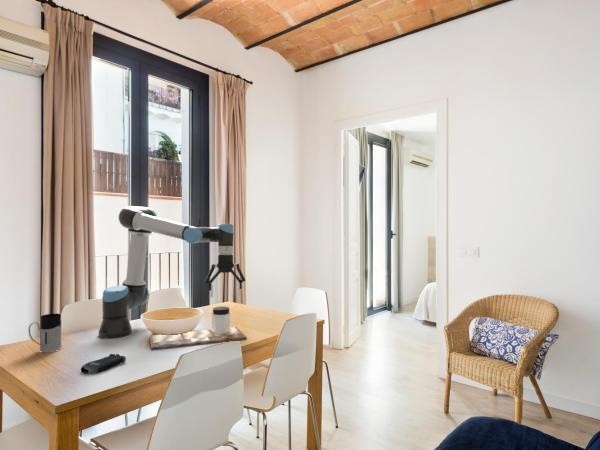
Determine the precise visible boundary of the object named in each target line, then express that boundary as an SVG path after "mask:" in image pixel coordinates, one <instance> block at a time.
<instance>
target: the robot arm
mask: <svg viewBox="0 0 600 450" xmlns="http://www.w3.org/2000/svg"><path fill="white" fill-rule="evenodd" d="M118 221H119V224H120V225H121V226H122V227H123V228H125V229H128V233H129V234H130V242H129V250H128V260H127V268H126V277H125V279H124V280H123V281H122V285H115V286H109V287H107V288H105V289H104V290H103V291H102V321H101V324H100V327H99V329H98V337H99V338H101V337H102V338H101V339H117V338H123V337H127V336H129V335H131V334H132V333H133V327H132V325H131V321H130V319H129V310H132V309H134V308H140V307H141V306H143V305H144V304H146V302H147V301H148V299H149V297H150V291H149V289H148V286H147V282H146V281H145V280H144V279H145V278H144V277H145V271H146V270H145V267H146V259H147V251H148V243H149V242H148V241H149V236H150V235H151V234H152V233H155V234H159V235H163V236H167V237H170V238H174V239H177V240H178V239H180V240H182V241H185V242H187V243H189V244H194V245H195V244H198V243H217V244H218V245H217V253H218V255H217V264H216V263H215V264H214V263H211V265H210V269H209V271H208V273H207V276H206V277H205V278H204V283H205V284H207V285H208V286H207V289H208V291H209V297H210V298H213V293H214V291H213V290H214V284H213V282H214V281H215V280H216V279H217V277H218V276H219V275H220V274H224V273H225V274H226V273H227V274H228V273H229V274H230V273H231V275H232V276H233V277H234V278H235V279H236V281H237V282H236V296H238V297H240V292H241V291H240V290H242V289H243V287H242V284H243V282H246V279H245V276H244V275H243V272H242V269H241V267H240V263H238V262H236V263H234V255H233V254H234V224H233V223H219V224H218V227H211V226H210V227H209V226H208V227H207V226H199V227H197V226H193V225H189V224H184V223H181V222H177V221H172V220H170V219H169V220H168V219H165V218H161V217H158V216H157V213H156V212H155V210H154V209H152V208H151V207H146V206H134V205H129V206H125V207H124V208H122V209H121V210H120V212H119V214H118ZM216 268H217V269H218V270H216V272H215V271H214V270H215V269H216ZM233 268H235V269H236V270H237V273H238V274H237V273H236V272H235V271H234V269H233ZM214 272H215V273H214ZM213 273H214V274H213ZM212 274H213V276H212ZM238 275H239V276H238ZM211 276H212V277H211Z"/></svg>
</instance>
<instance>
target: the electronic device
mask: <svg viewBox="0 0 600 450" xmlns="http://www.w3.org/2000/svg"><path fill="white" fill-rule="evenodd" d="M126 360H127V357H126V356H125V355H120V354H118V353H110V354H109V355H107V356H106V357H105V356H104V357H102V358H99V359H95V360H92V361H89V362H86V363H85V364H83V365H82V366H81V367H80V372H81V373H80V374H86V375H94V374H99V373H102V372H104V371H108V370H110V369H112V368H114V367H116V366H119V365H120V364H125V363H126ZM86 370H87V371H88V372H87V373H85V372H84V371H86Z"/></svg>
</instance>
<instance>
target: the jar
mask: <svg viewBox="0 0 600 450" xmlns="http://www.w3.org/2000/svg"><path fill="white" fill-rule="evenodd" d="M230 328H231V313H230V307H228V306H216V307H213V308H212V313H211V330H212V332H213V333H215V334H226V333H228V332H230Z"/></svg>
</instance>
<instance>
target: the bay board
mask: <svg viewBox="0 0 600 450" xmlns="http://www.w3.org/2000/svg"><path fill="white" fill-rule="evenodd" d="M186 332H187V333H183V334H178V335H161V334H153V335H149V343H150V344H151V345H150V344H149V345H150V349H151V351H153V350H162V349H172V348H180V347H181V348H182V347H188V346H191V347H192V346H198V345H199V346H200V345H208V343H209V344H215V343H216V342H217V343H226V341H227V342H235V341H234V340H236V341H242V340H243V339H244V340H247V339H248V338H247V336H246V335H245V334H244V333H243V332H242V331H241V330H240V329H239V328H238V327H237V326H236V327H234V326H233V327H230V332H228V333H226V334H215V333H213V332H212V329H205V330H204V329H203V330H195V331H193V330H191V331H186Z"/></svg>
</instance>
